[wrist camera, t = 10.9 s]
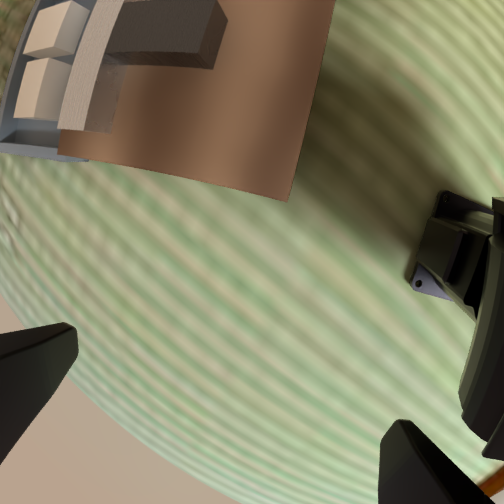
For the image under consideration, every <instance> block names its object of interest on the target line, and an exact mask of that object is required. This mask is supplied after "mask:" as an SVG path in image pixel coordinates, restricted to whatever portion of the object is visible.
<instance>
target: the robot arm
mask: <svg viewBox="0 0 504 504" xmlns="http://www.w3.org/2000/svg"><path fill="white" fill-rule="evenodd" d="M444 195H446V196H447V200H446V202H444V201H443V197H444ZM492 209H493V210H494V212H493V211H491V210H489V209H487V208H485V207H482V206H480V205H478V204H476V203H474V202H472V201H470V200H468V199H466V198H463V197H461V196H459V195H457V194H454V193H452V192H450V191H446V190H442V191H440V192H439V193H438V195H437V199H436V203H435V206H434V210H433V213H432V217H431V218H430V219H428V221H427V225H426V228H425V231H424V234H423V238H422V241H421V244H420V247H419V250H418V253H417V256H416V258H417V263H416V266H415V268H414V271H413V274H412V276H411V279H410V286H411V287H412V288H413V290H415V291H418V292H421V293H425V294H428V295H432V296H435V297H439V298H443V299H446V300H450V301H453V302H455V303H456V304H457V305H458V306H459V307H460V308H461V309H462V310H463V311H464V312H465V313H466V314H467V315H468V316H469V317H470V318H471V319H472V320H473V321H474V322H475V323H476V326H475V330H474V335H473V339H472V342H471V346H470V350H469V353H468V357H467V360H466V364H465V367H464V370H463V373H462V377H461V380H460V385H459V391H458V394H459V398H460V402H461V406H462V409H463V412H462V415H461V417H462V419H463V420H464V422H465V423H466V425H467V426H468V427H469V429H470V430H472V431H473V432H474V433H475V434H476V435H477V436H479V437H480V438H481V439H483V440H484V441H486V442H488V443H487V445H486V446H485V448H484V450H483V451H482V456H483V457H485V458H490V459H496V460H502V461H504V198H503V197H492ZM417 280H420V283H419V284H418V285H415V283H416V281H417ZM78 352H79V349H78V337H77V330H76V328H75V327H74V326H72V325H70V324H68V323H65V322H62V323H57V324H51V325H46V326H41V327H36V328H30V329H25V330H20V331H14V332H9V333H3V334H0V465H1V463H2V462H3V460H4V459H5V458H6V456H7V455H8V453H9V452H10V451H11V449H12V448H13V447H14V445H15V444H16V442H17V441H18V440H19V438H20V437H21V436H22V434H23V433H24V432H25V430H26V429H27V428H28V426H29V425H30V424H31V422H32V421H33V420H34V418H35V417H36V416H37V415H38V413H39V412H40V410H41V409H42V408H43V407H44V406H45V405H46V403H47V402H48V401H49V399H50V398H51V397H52V395H53V394H54V392H55V391H56V390H57V388H58V386H59V385H60V383H61V382H62V380H63V378H64V377H65V375H66V374H67V372H68V371H69V369H70V368H71V366H72V364H73V363H74V361H75V360H76V358H77V356H78ZM378 504H495V503H494V502H493V501H492V500H491V499H490V498H489V497H488V496H487V495H486V494H485V495H484V492H483V491H482V490H481V489H480V488H479V487H478V486H477V485H476V484H475V483H474V482H473V481H472V480H471V479H470V478H469V477H468V476H467V475H465V474H464V473H463V472H462V471H461V470H460V469H459V468H458V467H457V466H456V465H455V464H454V463H453V462H452V461H451V460H450V459H449V458H448V457H447V456H446V455H445V454H444V453H443V452H442V451H441V450H440V449H439V448H438V447H437V446H436V445H435V444H434V443H433V442H432V441H431V440H430V439H429V438H428V437H427V436H426V435H425V434H424V433H423V432H422V431H421V430H420V429H419V428H418V427H417V426H416V425H415V424H414V423H413V422H412V421H410V420H405V419H398V420H396V421H395V422H394V423H393V424H392V426H391V427H390V428H389V430H388V431H387V432H386V434H385V435H384V436H383V438H382V440H381V443H380V462H379V480H378Z"/></svg>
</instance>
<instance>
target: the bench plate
mask: <svg viewBox="0 0 504 504" xmlns="http://www.w3.org/2000/svg"><path fill="white" fill-rule="evenodd" d="M218 2H219V4H220V6H221V8H222V10H223V11H224V13H225V15H226V17H227V19H228V23H227V26H226V29H225V32H224V35H223V39H222V42H221V45H220V48H219V52H218V55H217V58H216V62H215V65H214V69H213V70H209V69H200V68H188V67H174V66H150V65H128V67H127V70H126V74H125V77H124V81H123V84H122V88H121V91H120V95H119V99H118V103H117V107H116V111H115V115H114V120H113V124H112V129H111V134H107V133H97V132H87V131H78V130H68V129H61V133H60V139H59V144H58V150H57V155H63V156H70V157H76V158H83V159H89V160H95V161H101V162H107V163H112V164H118V165H123V166H129V167H134V168H139V169H145V170H150V171H155V172H160V173H165V174H169V175H174V176H179V177H184V178H188V179H193V180H197V181H202V182H206V183H211V184H215V185H219V186H224V187H228V188H232V189H236V190H241V191H245V192H249V193H253V194H257V195H261V196H265V197H269V198H272V199H276V200H280V201H284V202H287V201H288V198H289V195H290V191H291V187H292V183H293V179H294V175H295V171H296V167H297V163H298V159H299V155H300V151H301V147H302V143H303V139H304V135H305V131H306V127H307V123H308V118H309V114H310V110H311V106H312V102H313V98H314V93H315V89H316V85H317V81H318V76H319V72H320V68H321V63H322V59H323V54H324V50H325V46H326V41H327V37H328V32H329V28H330V23H331V18H332V14H333V9H334V4H335V0H218Z"/></svg>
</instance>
